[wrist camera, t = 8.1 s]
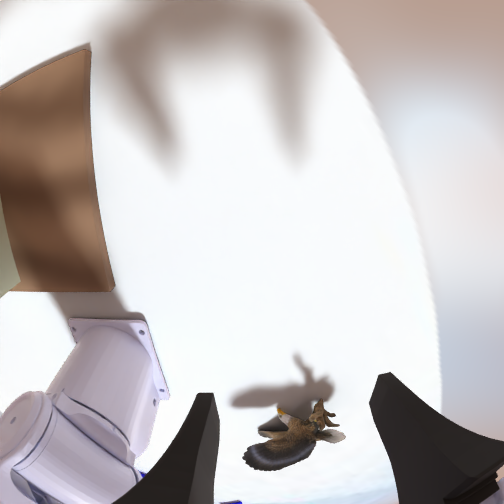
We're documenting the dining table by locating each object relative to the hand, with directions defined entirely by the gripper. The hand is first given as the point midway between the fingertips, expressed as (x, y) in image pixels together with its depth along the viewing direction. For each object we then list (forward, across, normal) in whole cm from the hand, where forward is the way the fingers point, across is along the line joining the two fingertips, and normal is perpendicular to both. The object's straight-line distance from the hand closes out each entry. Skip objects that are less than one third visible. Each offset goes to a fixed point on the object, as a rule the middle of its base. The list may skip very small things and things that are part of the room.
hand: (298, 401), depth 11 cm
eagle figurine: (+11, -2, +16) cm, 19 cm away
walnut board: (+10, +23, -10) cm, 27 cm away
